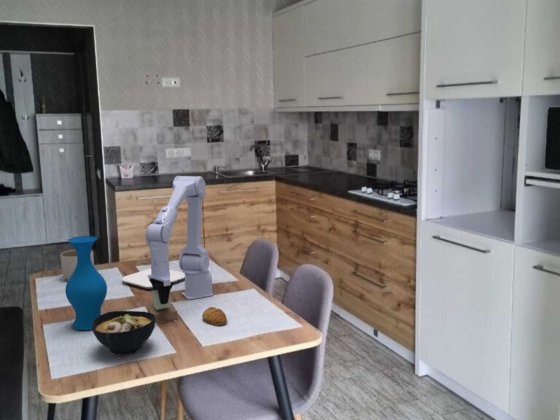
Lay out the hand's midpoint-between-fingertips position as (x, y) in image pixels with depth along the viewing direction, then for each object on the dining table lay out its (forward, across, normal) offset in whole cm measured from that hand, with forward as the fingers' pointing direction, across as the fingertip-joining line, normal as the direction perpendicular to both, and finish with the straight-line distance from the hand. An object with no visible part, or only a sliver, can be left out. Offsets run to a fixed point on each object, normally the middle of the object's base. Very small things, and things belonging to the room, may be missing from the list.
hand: (161, 301), depth 176 cm
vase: (+6, -6, -22) cm, 24 cm away
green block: (+2, 0, 0) cm, 2 cm away
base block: (+6, 0, 0) cm, 6 cm away
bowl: (+6, +18, -16) cm, 25 cm away
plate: (+6, -41, +9) cm, 42 cm away
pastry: (+6, +11, +14) cm, 19 cm away
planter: (+6, -60, -17) cm, 63 cm away
